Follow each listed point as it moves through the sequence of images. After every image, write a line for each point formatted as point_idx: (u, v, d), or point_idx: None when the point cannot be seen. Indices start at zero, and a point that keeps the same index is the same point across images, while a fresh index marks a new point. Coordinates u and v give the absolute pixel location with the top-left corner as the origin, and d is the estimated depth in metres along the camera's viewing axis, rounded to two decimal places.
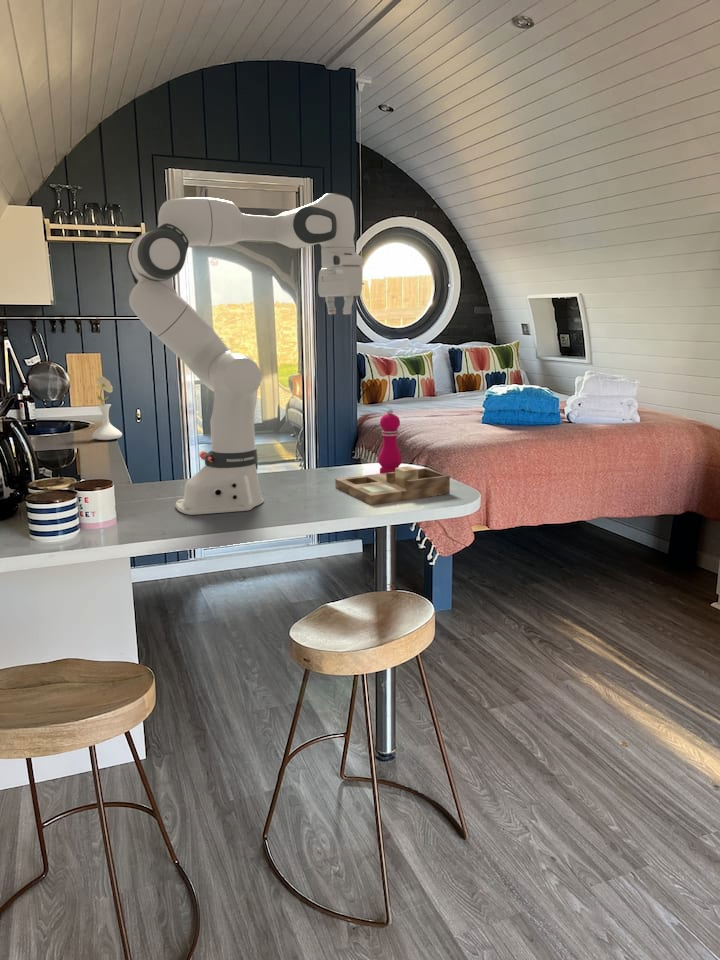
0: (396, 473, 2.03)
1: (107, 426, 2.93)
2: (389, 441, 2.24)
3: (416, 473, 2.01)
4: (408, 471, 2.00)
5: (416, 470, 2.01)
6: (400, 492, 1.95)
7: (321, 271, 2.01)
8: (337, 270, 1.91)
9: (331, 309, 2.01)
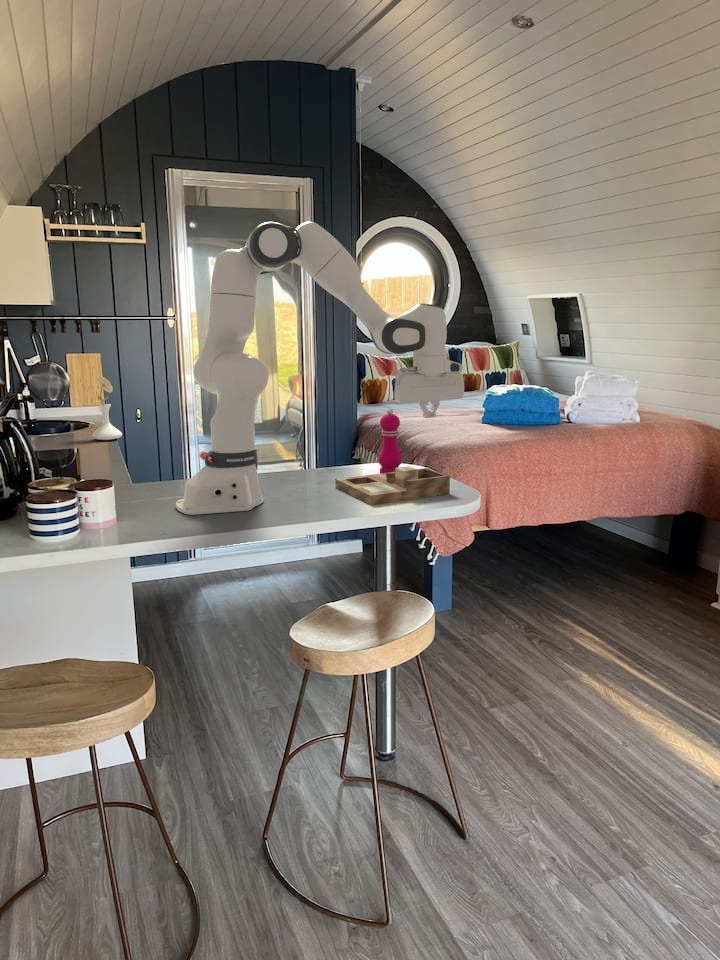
0: (396, 473, 2.03)
1: (107, 426, 2.93)
2: (389, 441, 2.24)
3: (416, 473, 2.01)
4: (408, 471, 2.00)
5: (416, 470, 2.01)
6: (400, 492, 1.95)
7: (409, 377, 1.95)
8: (448, 377, 1.99)
9: None
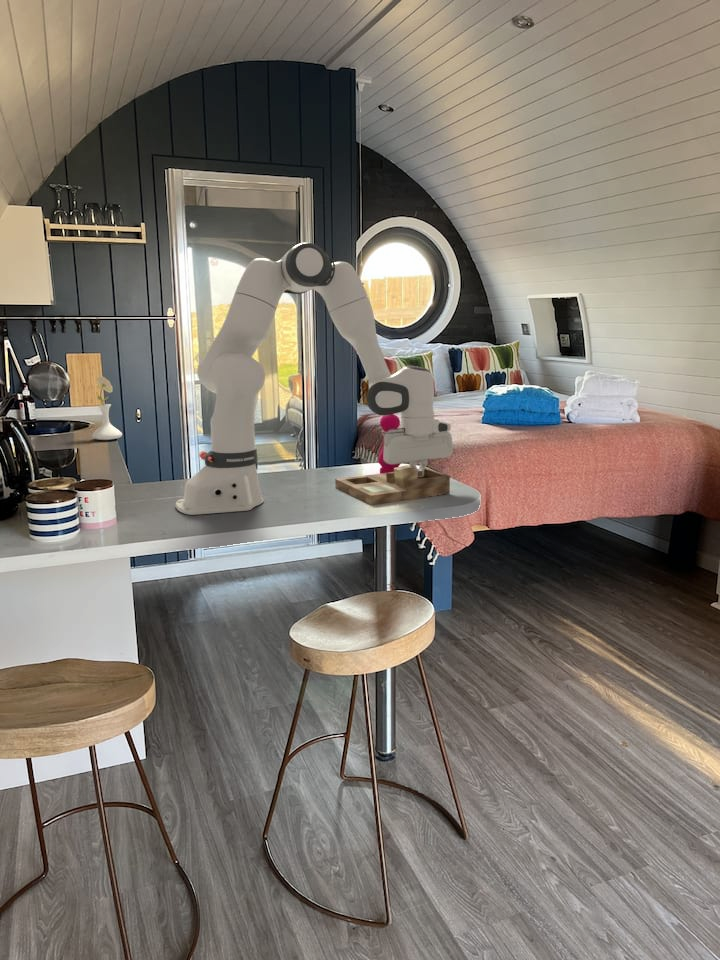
0: (395, 473, 2.03)
1: (107, 426, 2.93)
2: None
3: (415, 472, 2.01)
4: (406, 471, 1.99)
5: (414, 469, 2.00)
6: (400, 492, 1.95)
7: (398, 438, 1.97)
8: (436, 436, 2.01)
9: None
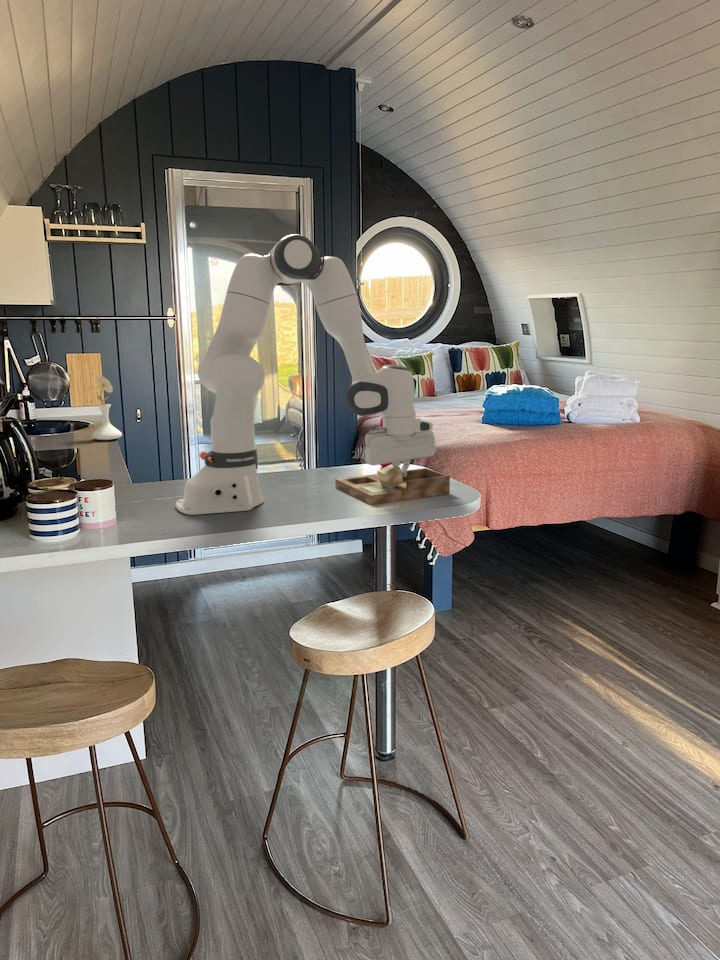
0: (379, 475, 2.00)
1: (107, 426, 2.93)
2: None
3: (398, 472, 1.98)
4: (390, 472, 1.97)
5: (397, 469, 1.98)
6: (400, 492, 1.95)
7: (379, 439, 1.94)
8: (419, 436, 1.99)
9: None
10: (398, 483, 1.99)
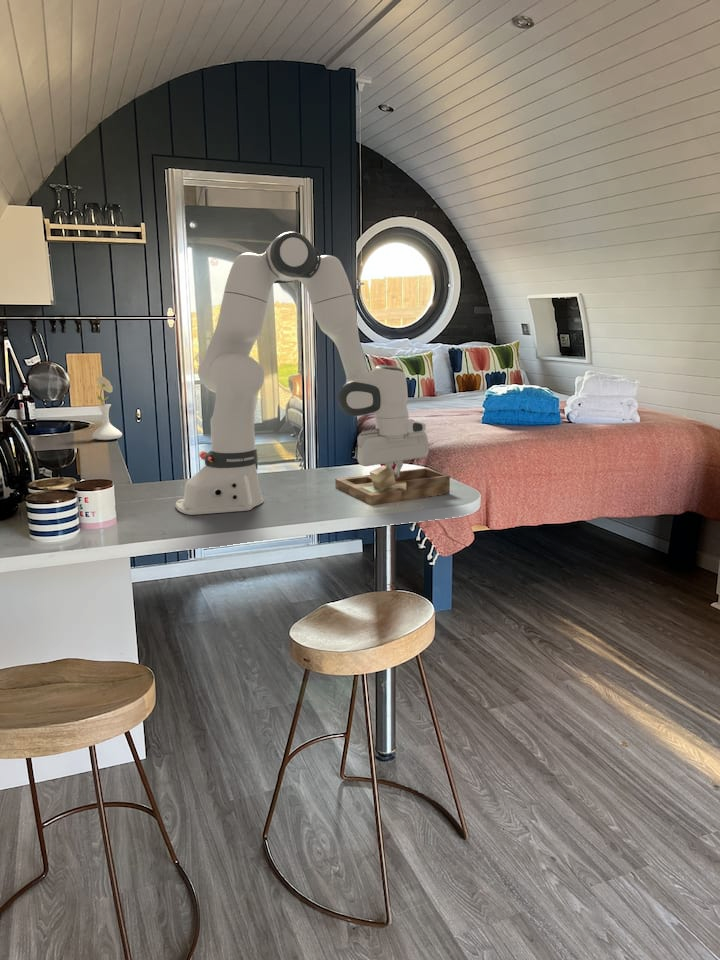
0: (371, 476, 1.99)
1: (107, 426, 2.93)
2: None
3: (391, 473, 1.97)
4: (382, 473, 1.96)
5: (390, 470, 1.97)
6: (400, 492, 1.95)
7: (372, 440, 1.93)
8: (411, 437, 1.98)
9: None
10: (391, 484, 1.98)
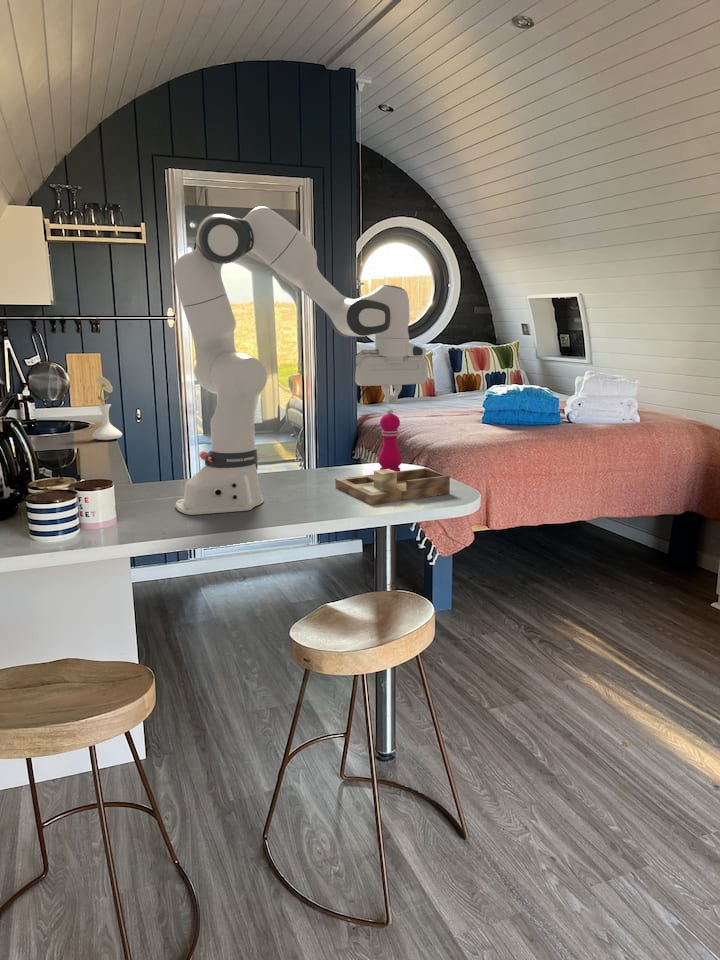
0: (374, 476, 2.00)
1: (107, 426, 2.93)
2: (389, 441, 2.24)
3: (395, 476, 1.98)
4: (386, 474, 1.97)
5: (395, 473, 1.98)
6: (400, 492, 1.95)
7: (370, 359, 1.91)
8: (411, 360, 1.96)
9: None
10: (391, 487, 1.98)
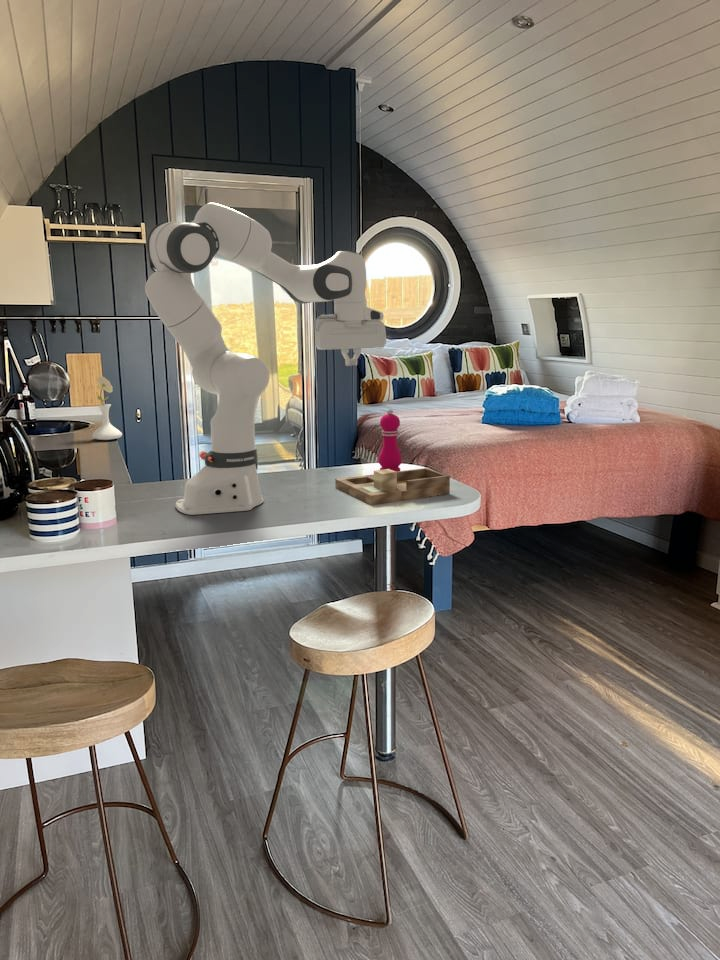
0: (374, 476, 2.00)
1: (107, 426, 2.93)
2: (389, 441, 2.24)
3: (395, 476, 1.98)
4: (386, 474, 1.97)
5: (395, 473, 1.98)
6: (400, 492, 1.95)
7: (329, 323, 1.98)
8: (369, 324, 2.02)
9: None
10: (391, 487, 1.98)
